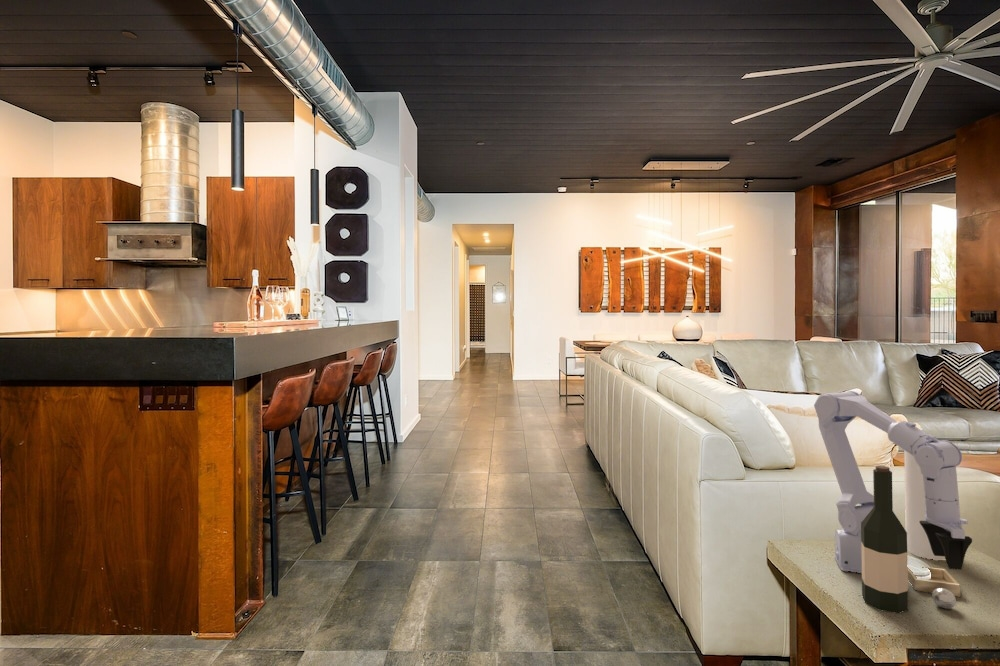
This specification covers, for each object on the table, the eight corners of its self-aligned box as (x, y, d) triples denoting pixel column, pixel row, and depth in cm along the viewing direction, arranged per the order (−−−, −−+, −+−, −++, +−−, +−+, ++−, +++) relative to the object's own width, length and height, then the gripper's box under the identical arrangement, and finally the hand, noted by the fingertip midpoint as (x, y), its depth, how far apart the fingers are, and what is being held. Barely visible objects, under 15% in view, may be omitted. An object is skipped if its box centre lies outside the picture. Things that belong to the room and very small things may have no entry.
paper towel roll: (959, 562, 135) (957, 444, 134) (915, 558, 138) (913, 443, 137) (939, 547, 144) (938, 436, 143) (899, 544, 147) (897, 435, 146)
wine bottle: (853, 593, 121) (851, 462, 121) (890, 593, 121) (888, 462, 120) (878, 613, 113) (875, 472, 112) (918, 613, 112) (916, 472, 112)
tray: (915, 590, 122) (915, 579, 121) (903, 574, 129) (903, 564, 129) (960, 596, 119) (960, 585, 118) (944, 579, 126) (944, 569, 126)
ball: (936, 610, 113) (935, 591, 113) (928, 601, 117) (928, 583, 117) (959, 613, 112) (959, 594, 112) (951, 604, 116) (951, 586, 115)
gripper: (980, 508, 107) (987, 577, 106) (949, 490, 120) (955, 551, 120) (937, 506, 109) (943, 573, 109) (912, 489, 123) (917, 549, 122)
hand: (947, 562), depth 114 cm, fingers open, 7 cm apart
